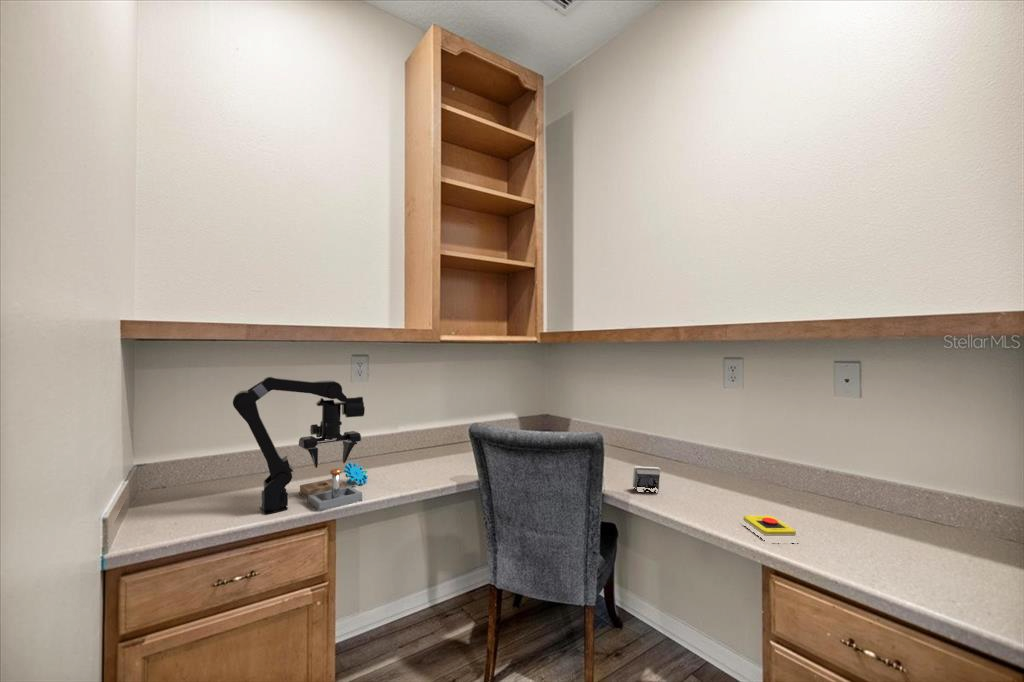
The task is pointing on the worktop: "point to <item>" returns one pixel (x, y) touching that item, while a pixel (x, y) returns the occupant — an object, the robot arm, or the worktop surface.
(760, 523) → the emergency button
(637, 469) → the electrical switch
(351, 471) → the gear
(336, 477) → the pin
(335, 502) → the tray
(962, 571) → the worktop surface
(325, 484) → the wooden block
